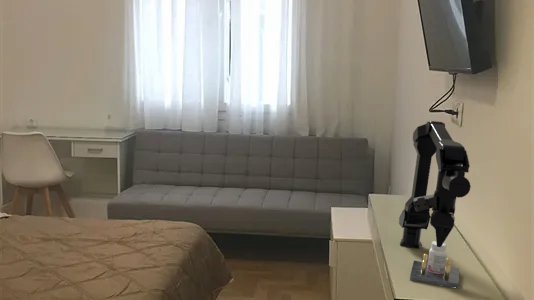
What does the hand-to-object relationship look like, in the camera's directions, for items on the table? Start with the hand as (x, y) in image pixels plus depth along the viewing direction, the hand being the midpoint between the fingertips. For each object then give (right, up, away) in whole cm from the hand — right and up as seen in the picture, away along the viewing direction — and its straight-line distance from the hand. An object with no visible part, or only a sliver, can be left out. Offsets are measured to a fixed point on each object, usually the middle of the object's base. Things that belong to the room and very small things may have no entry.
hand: (439, 242), depth 169 cm
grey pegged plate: (-1, -10, +2) cm, 10 cm away
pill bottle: (-1, -9, +2) cm, 9 cm away
